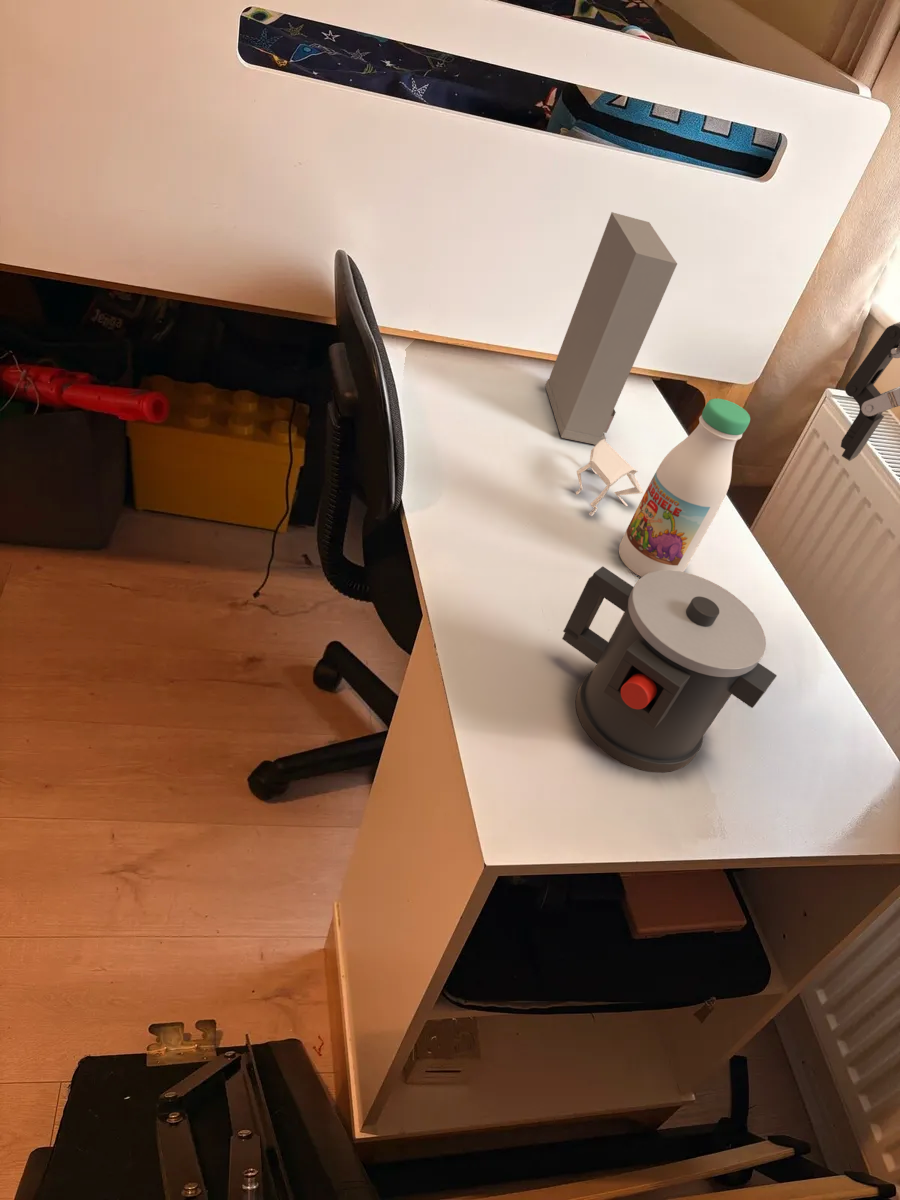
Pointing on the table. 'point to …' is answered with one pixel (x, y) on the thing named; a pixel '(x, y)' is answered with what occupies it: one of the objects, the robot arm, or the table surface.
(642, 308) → the tall grey pillar
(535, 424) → the table surface
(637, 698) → the kettle button
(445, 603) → the table surface
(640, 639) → the kettle jug
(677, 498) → the milk bottle
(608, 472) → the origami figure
